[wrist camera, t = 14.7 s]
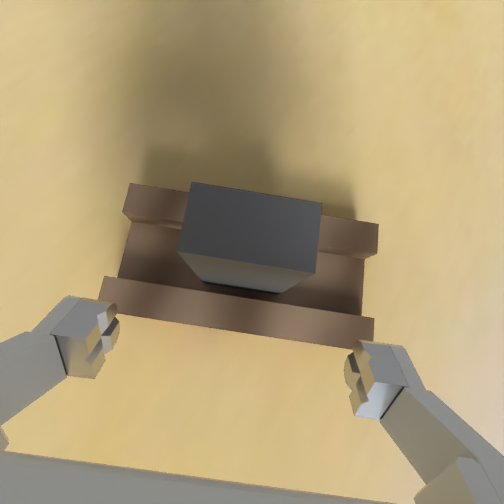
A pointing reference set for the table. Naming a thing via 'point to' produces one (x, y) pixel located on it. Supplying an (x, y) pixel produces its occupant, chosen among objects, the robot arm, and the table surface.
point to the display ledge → (238, 300)
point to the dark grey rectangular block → (249, 238)
